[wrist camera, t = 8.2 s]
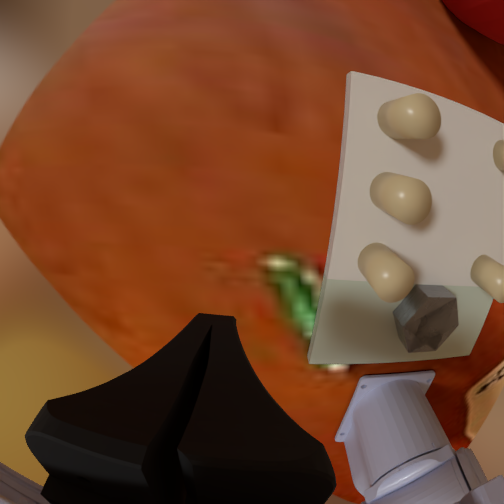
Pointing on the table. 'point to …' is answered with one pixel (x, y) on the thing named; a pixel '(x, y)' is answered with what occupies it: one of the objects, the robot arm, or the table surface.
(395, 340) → the board
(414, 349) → the grey faceted polyhedron
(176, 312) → the table surface
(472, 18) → the ceramic cup
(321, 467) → the robot arm
